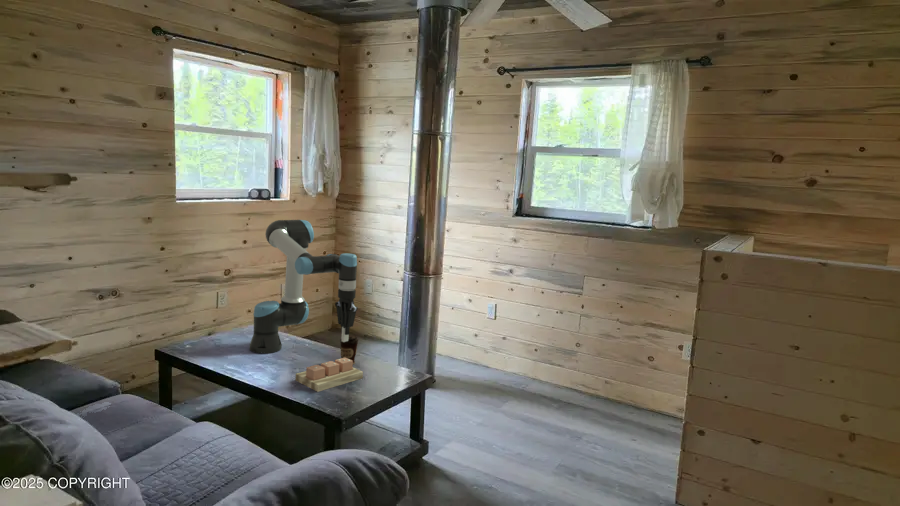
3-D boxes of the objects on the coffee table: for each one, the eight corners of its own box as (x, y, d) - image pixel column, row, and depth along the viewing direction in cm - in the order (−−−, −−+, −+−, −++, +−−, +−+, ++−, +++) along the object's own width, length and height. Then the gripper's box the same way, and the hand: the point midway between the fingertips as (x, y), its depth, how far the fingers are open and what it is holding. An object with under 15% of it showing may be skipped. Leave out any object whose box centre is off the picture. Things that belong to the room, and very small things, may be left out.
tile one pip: (306, 377, 235) (306, 366, 235) (317, 374, 240) (317, 364, 239) (313, 381, 232) (314, 370, 231) (324, 378, 236) (325, 367, 235)
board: (295, 380, 238) (295, 373, 237) (340, 368, 256) (340, 361, 256) (317, 391, 228) (317, 384, 227) (362, 378, 246) (363, 371, 245)
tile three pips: (334, 369, 247) (335, 359, 246) (344, 366, 251) (345, 356, 250) (342, 373, 243) (342, 363, 242) (352, 370, 247) (352, 360, 247)
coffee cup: (352, 367, 258) (354, 340, 256) (336, 364, 260) (337, 338, 258) (359, 361, 267) (360, 335, 265) (343, 359, 268) (344, 333, 266)
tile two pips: (320, 373, 241) (321, 363, 240) (331, 370, 245) (331, 360, 245) (328, 377, 238) (328, 366, 237) (339, 374, 242) (339, 363, 241)
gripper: (330, 287, 243) (328, 339, 246) (349, 292, 235) (347, 346, 238) (344, 285, 249) (342, 336, 252) (363, 290, 240) (361, 343, 244)
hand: (344, 341), depth 245 cm, fingers closed
